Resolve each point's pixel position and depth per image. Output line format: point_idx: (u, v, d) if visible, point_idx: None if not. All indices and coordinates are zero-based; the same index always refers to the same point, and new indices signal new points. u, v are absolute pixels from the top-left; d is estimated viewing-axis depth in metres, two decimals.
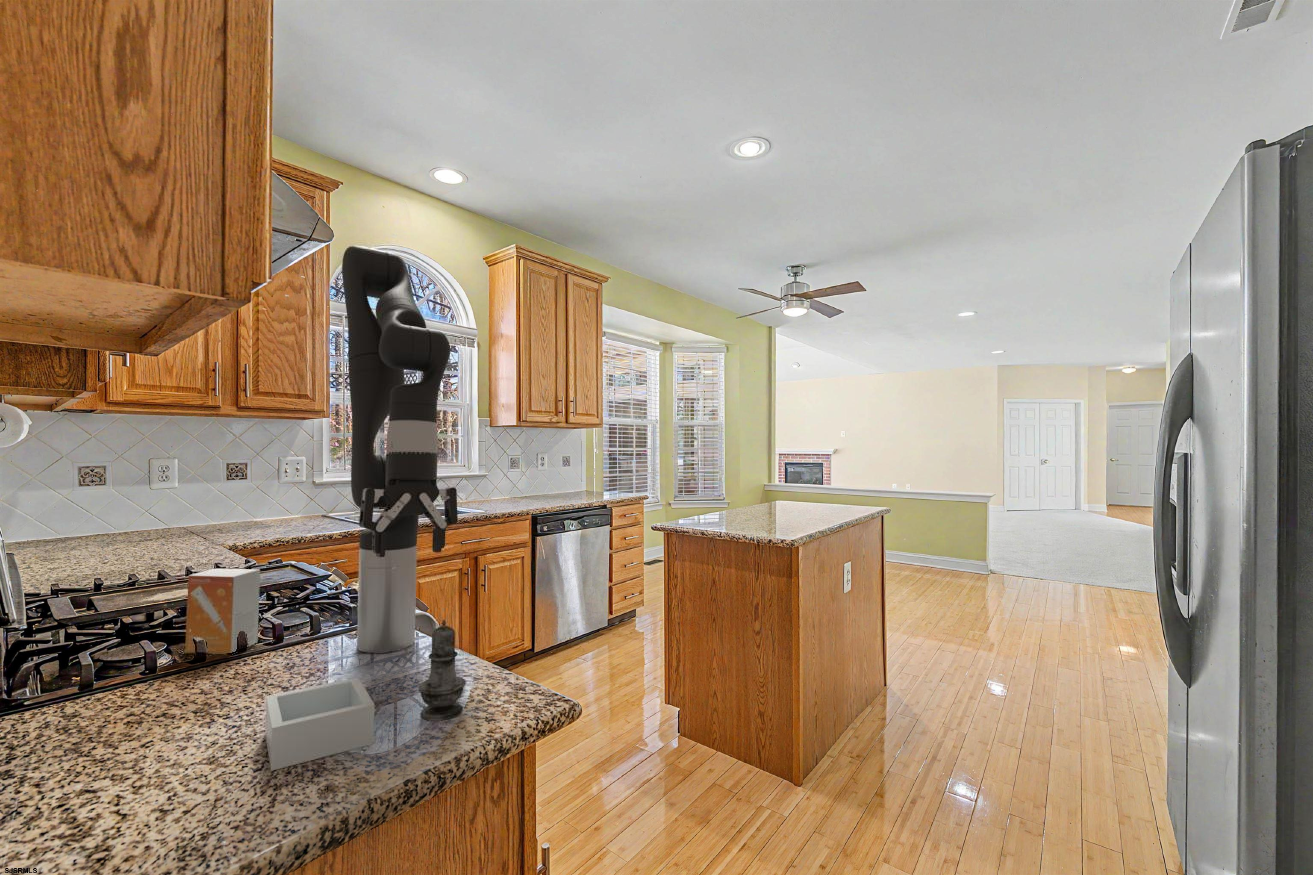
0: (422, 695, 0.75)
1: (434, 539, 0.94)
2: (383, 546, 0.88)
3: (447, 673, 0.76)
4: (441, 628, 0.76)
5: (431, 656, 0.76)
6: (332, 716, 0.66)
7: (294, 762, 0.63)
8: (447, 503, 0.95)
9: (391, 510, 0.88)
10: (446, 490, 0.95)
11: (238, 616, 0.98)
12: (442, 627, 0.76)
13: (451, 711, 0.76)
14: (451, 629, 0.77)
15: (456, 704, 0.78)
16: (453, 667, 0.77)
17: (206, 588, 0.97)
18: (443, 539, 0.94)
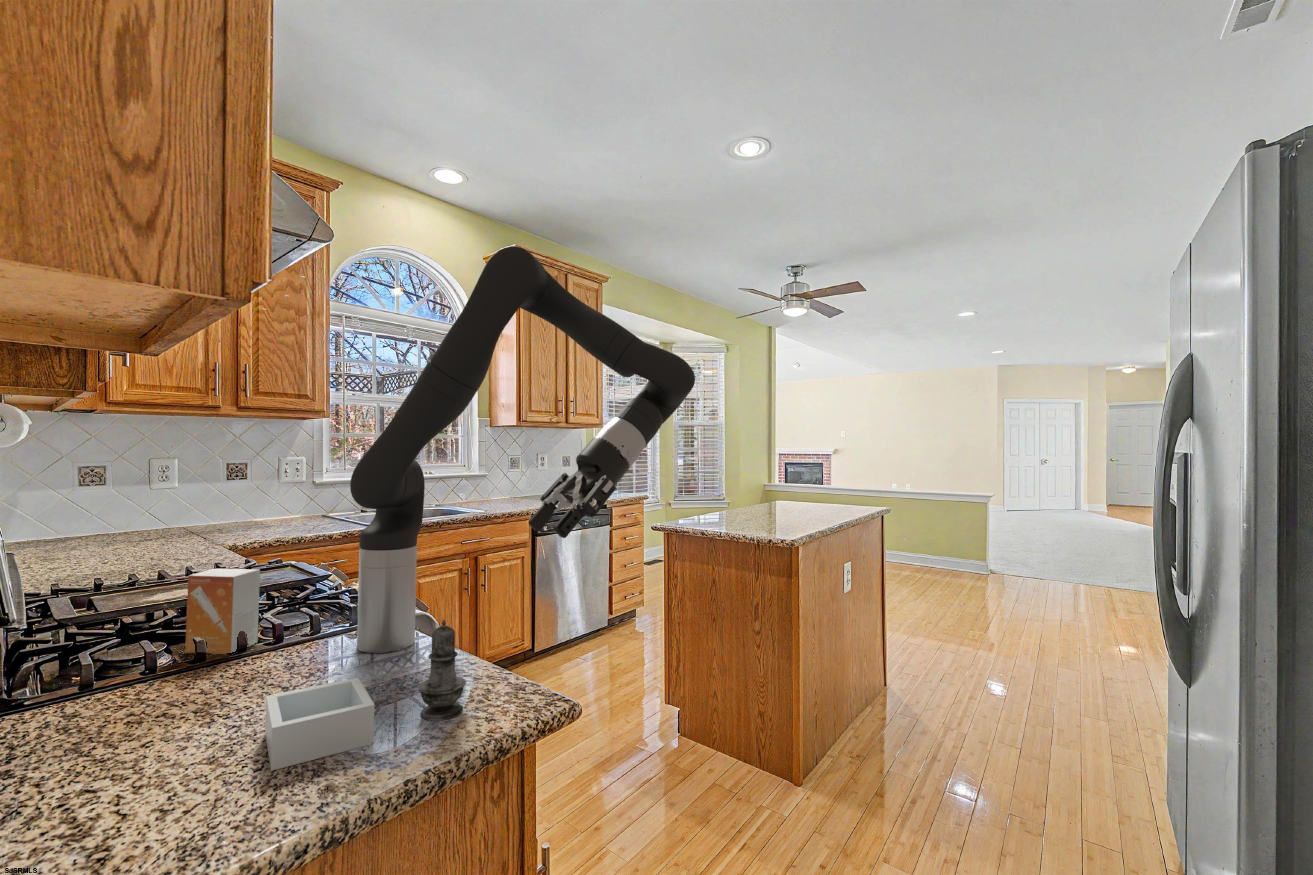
0: (422, 695, 0.75)
1: (541, 516, 0.90)
2: None
3: (447, 673, 0.76)
4: (441, 628, 0.76)
5: (431, 656, 0.76)
6: (332, 716, 0.66)
7: (294, 762, 0.63)
8: (562, 491, 0.94)
9: (593, 504, 0.87)
10: None
11: (238, 616, 0.98)
12: (442, 627, 0.76)
13: (451, 711, 0.76)
14: (451, 629, 0.77)
15: (456, 704, 0.78)
16: (453, 667, 0.77)
17: (206, 589, 0.97)
18: None
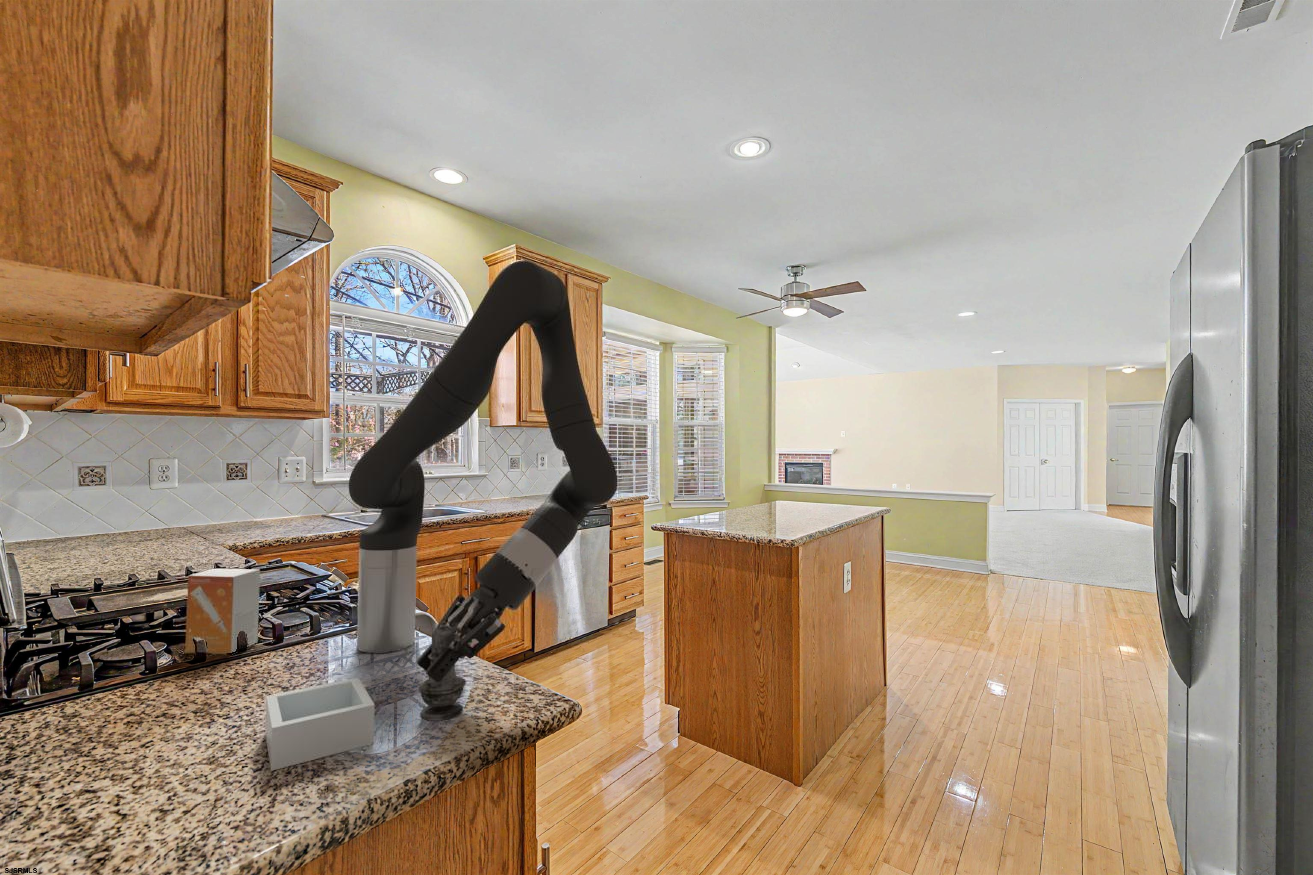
0: (422, 695, 0.75)
1: None
2: None
3: (447, 673, 0.76)
4: (441, 628, 0.76)
5: (431, 656, 0.76)
6: (332, 716, 0.66)
7: (294, 762, 0.63)
8: None
9: None
10: None
11: (238, 616, 0.98)
12: (442, 627, 0.76)
13: (451, 711, 0.76)
14: (451, 629, 0.77)
15: (456, 704, 0.78)
16: (453, 667, 0.77)
17: (206, 589, 0.97)
18: None
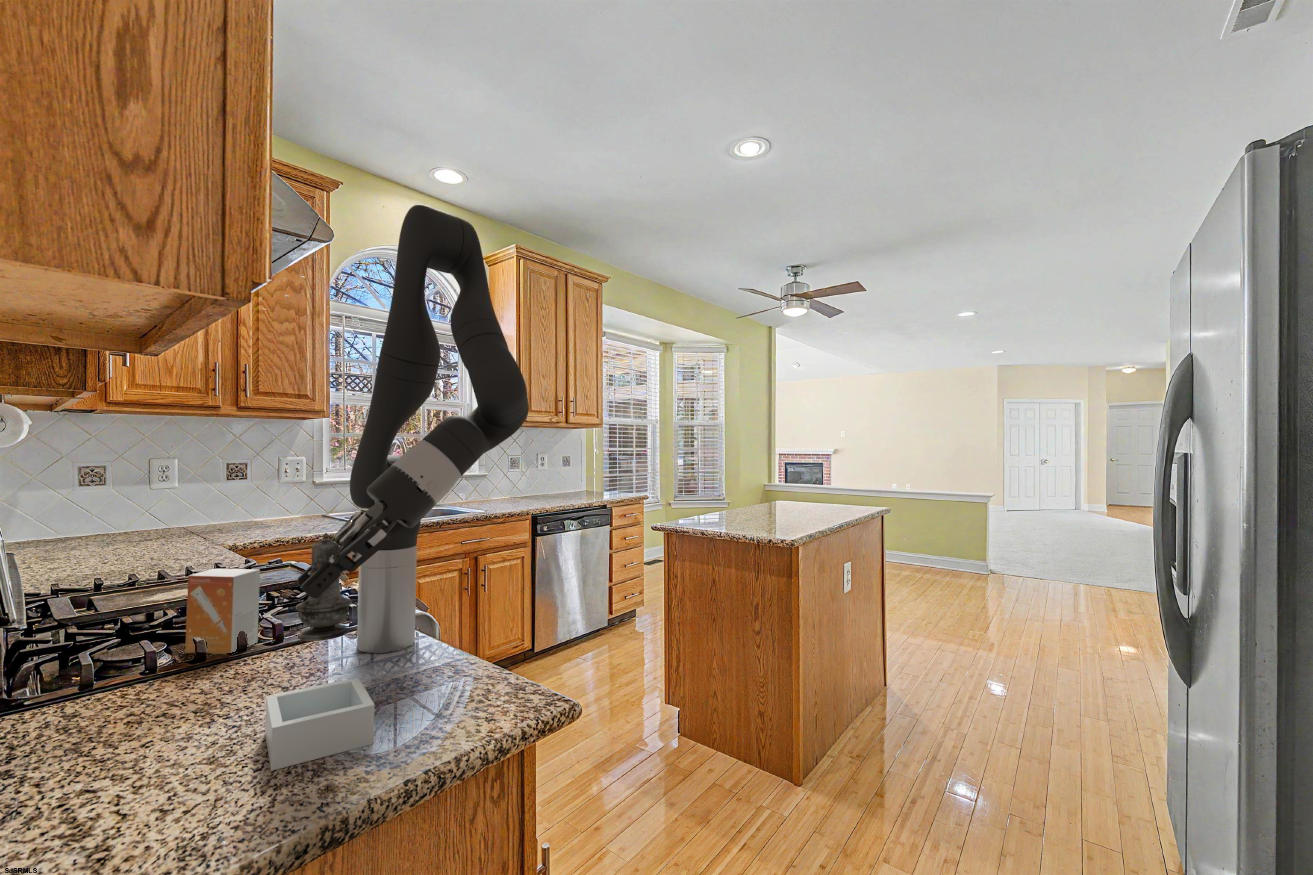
0: (299, 614, 0.68)
1: None
2: None
3: (328, 590, 0.69)
4: (322, 541, 0.69)
5: (310, 572, 0.69)
6: (332, 716, 0.66)
7: (294, 762, 0.63)
8: None
9: None
10: None
11: (238, 616, 0.98)
12: (323, 540, 0.69)
13: (332, 632, 0.69)
14: (334, 543, 0.70)
15: (341, 627, 0.71)
16: (336, 585, 0.69)
17: (206, 589, 0.97)
18: None
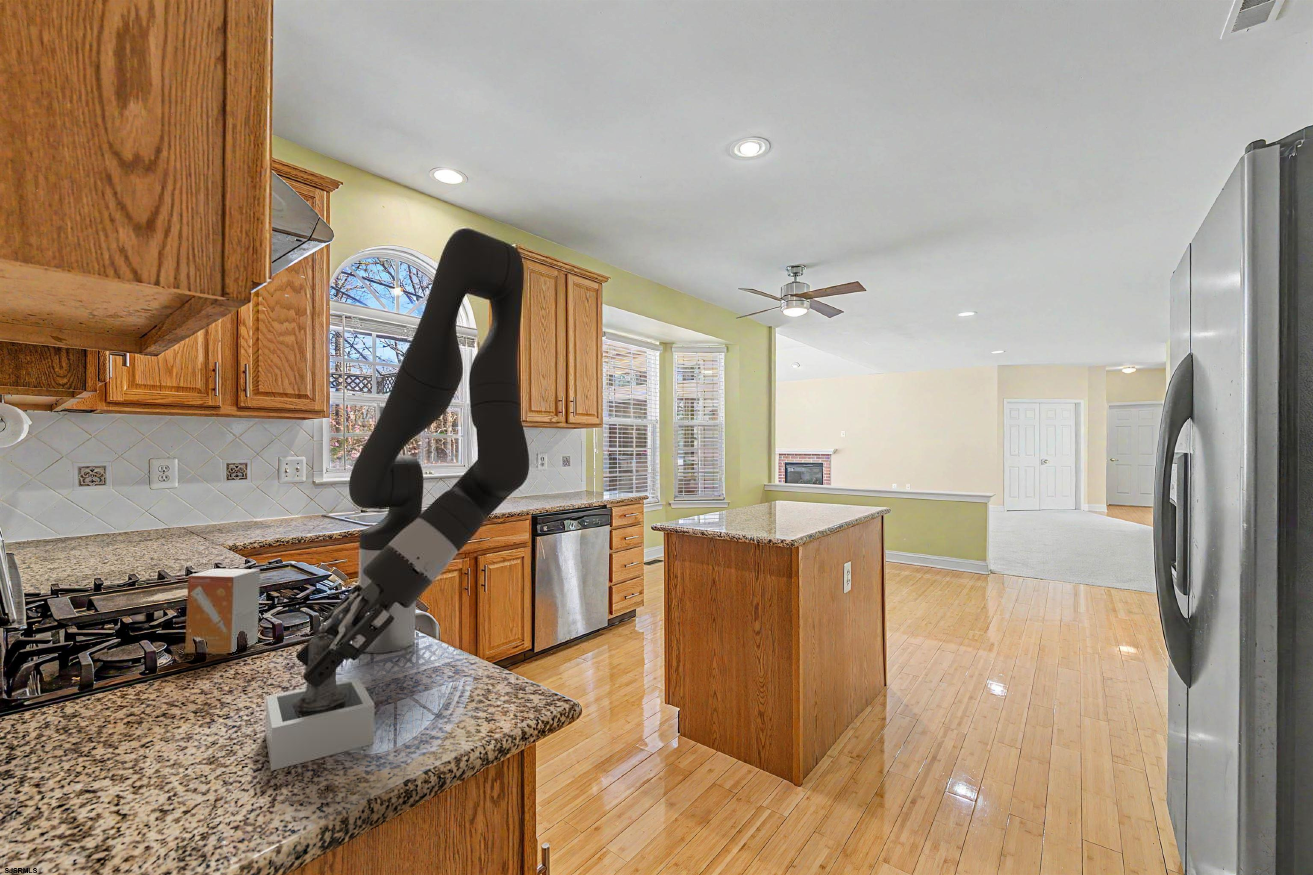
0: (295, 711, 0.68)
1: None
2: (328, 675, 0.66)
3: (325, 687, 0.68)
4: (319, 637, 0.69)
5: (307, 668, 0.68)
6: (332, 716, 0.66)
7: (294, 762, 0.63)
8: None
9: None
10: None
11: (238, 616, 0.98)
12: (320, 636, 0.69)
13: None
14: (331, 638, 0.69)
15: None
16: (332, 680, 0.69)
17: (206, 588, 0.97)
18: None
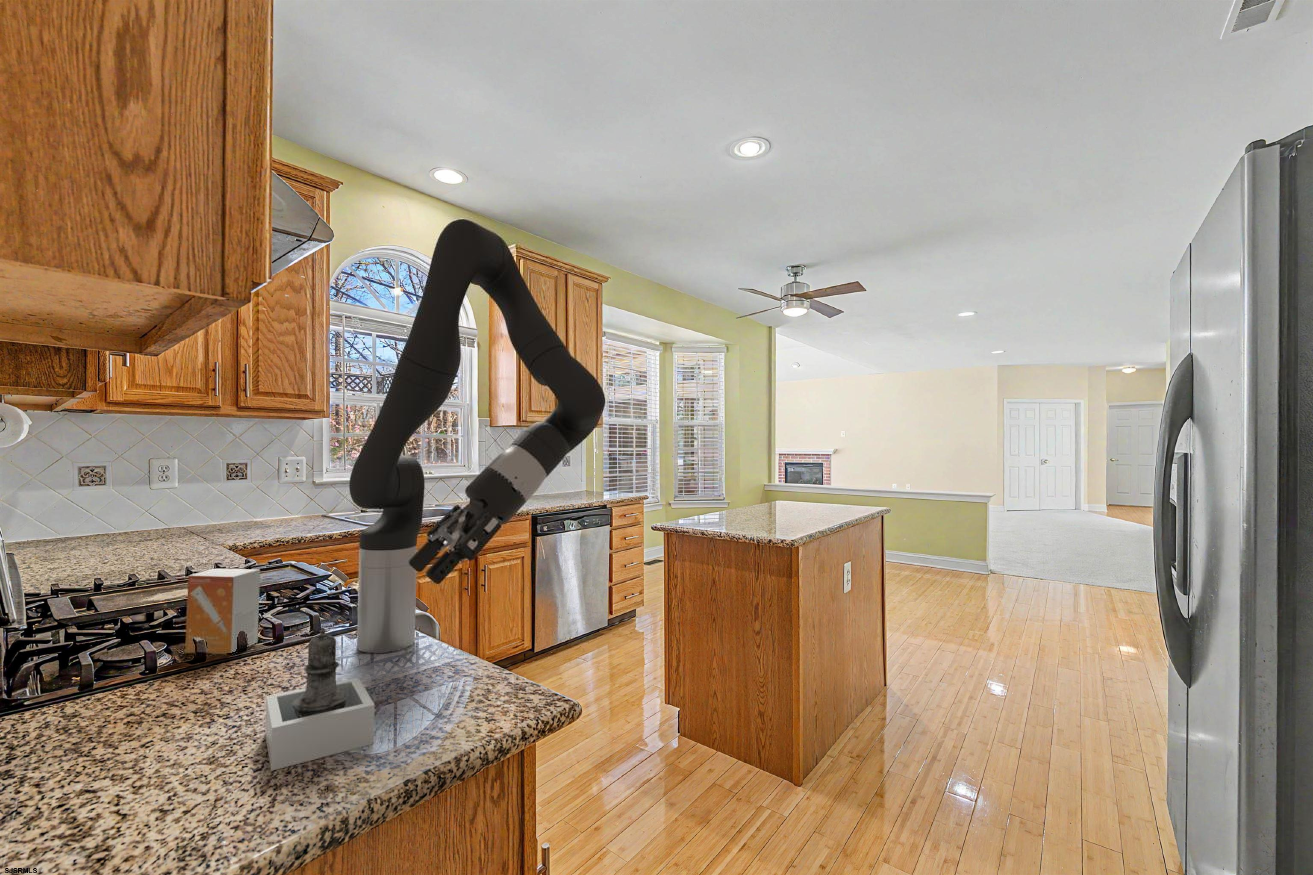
0: (295, 711, 0.68)
1: (423, 555, 0.80)
2: (446, 574, 0.74)
3: (325, 687, 0.68)
4: (319, 637, 0.69)
5: (307, 668, 0.68)
6: (332, 716, 0.66)
7: (294, 762, 0.63)
8: None
9: (477, 544, 0.77)
10: None
11: (238, 616, 0.98)
12: (320, 636, 0.69)
13: None
14: (330, 638, 0.69)
15: None
16: (332, 680, 0.69)
17: (206, 588, 0.97)
18: None
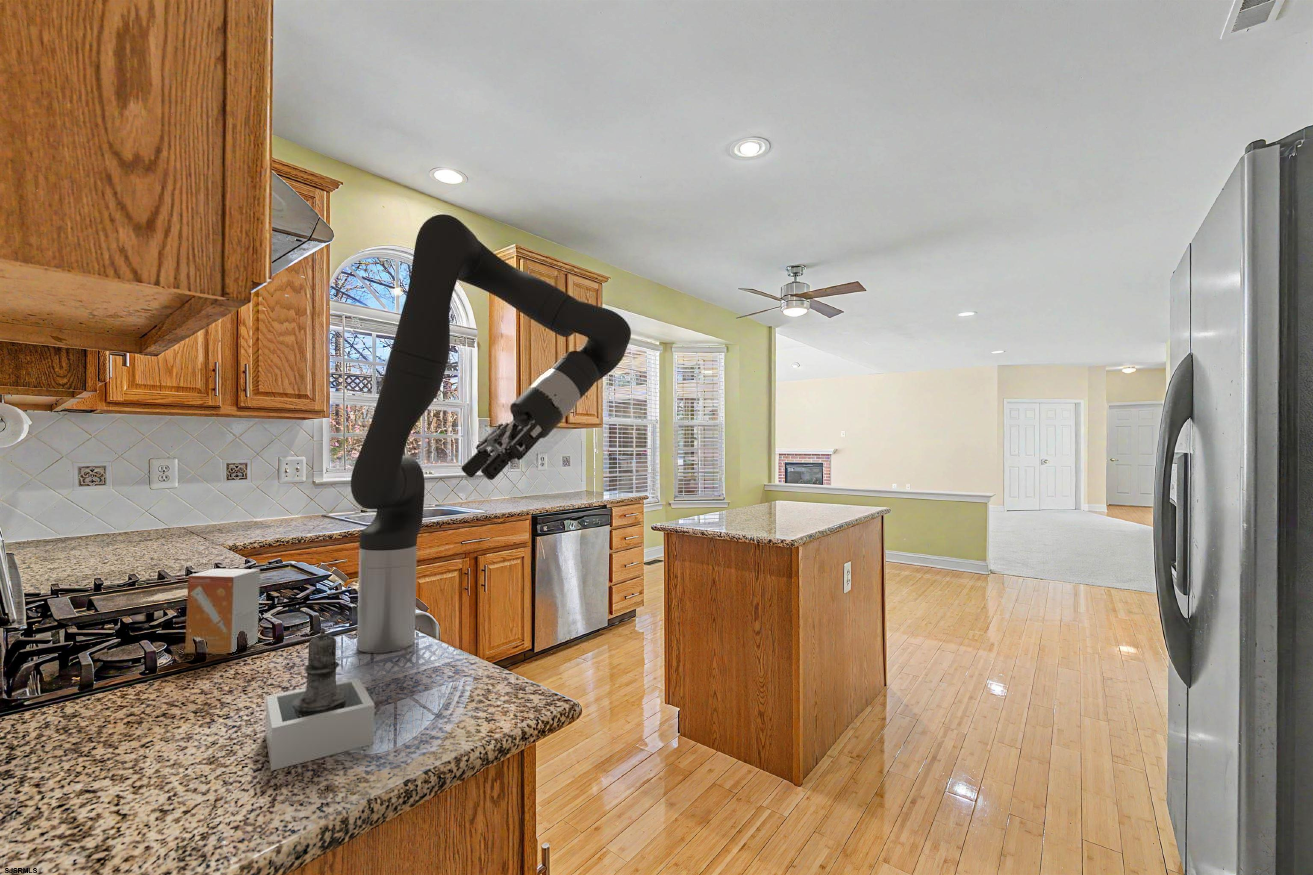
0: (295, 711, 0.68)
1: (474, 463, 0.92)
2: (497, 473, 0.86)
3: (325, 687, 0.68)
4: (319, 637, 0.69)
5: (307, 668, 0.68)
6: (332, 716, 0.66)
7: (294, 762, 0.63)
8: None
9: (523, 450, 0.89)
10: None
11: (238, 616, 0.98)
12: (320, 636, 0.69)
13: None
14: (331, 638, 0.69)
15: None
16: (332, 680, 0.69)
17: (206, 588, 0.97)
18: None
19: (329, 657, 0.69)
